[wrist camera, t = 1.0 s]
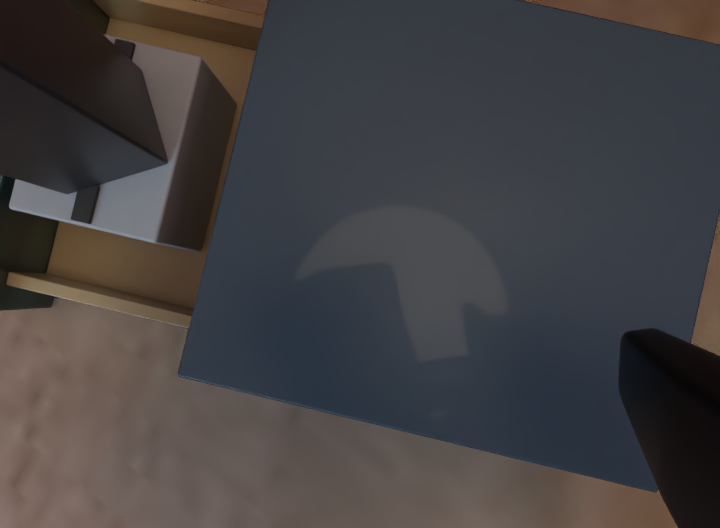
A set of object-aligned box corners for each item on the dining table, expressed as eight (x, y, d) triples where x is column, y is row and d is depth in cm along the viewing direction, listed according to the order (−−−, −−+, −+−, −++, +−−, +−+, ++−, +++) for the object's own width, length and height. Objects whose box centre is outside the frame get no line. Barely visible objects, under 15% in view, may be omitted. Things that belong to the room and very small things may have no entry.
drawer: (1, 295, 23) (-95, 297, 18) (80, -15, 23) (5, -91, 19) (381, 387, 23) (383, 414, 18) (456, 70, 23) (476, 14, 18)
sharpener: (201, 252, 22) (-83, 196, 8) (82, 224, 22) (-389, 123, 8) (238, 103, 22) (15, -192, 8) (119, 76, 22) (-286, -258, 9)
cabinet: (229, 352, 23) (176, 376, 17) (306, 36, 23) (280, -54, 17) (581, 437, 23) (658, 494, 16) (654, 115, 23) (756, 51, 17)
